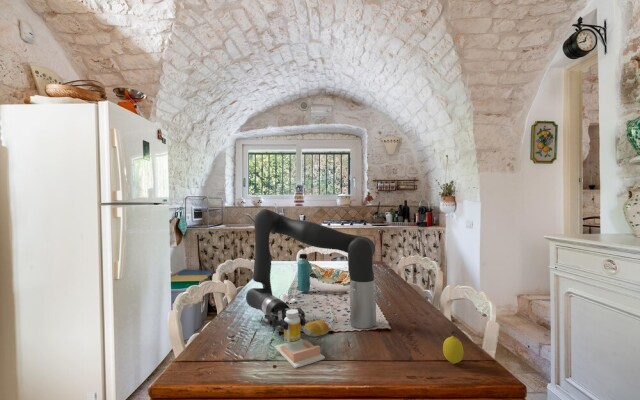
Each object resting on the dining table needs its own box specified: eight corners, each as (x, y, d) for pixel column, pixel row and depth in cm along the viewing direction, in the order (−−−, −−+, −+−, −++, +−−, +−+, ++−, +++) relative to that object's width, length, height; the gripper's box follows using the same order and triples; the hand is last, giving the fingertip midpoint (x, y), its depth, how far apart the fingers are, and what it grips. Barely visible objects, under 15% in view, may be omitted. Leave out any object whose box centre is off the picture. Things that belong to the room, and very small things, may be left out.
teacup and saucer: (298, 302, 149) (298, 294, 149) (287, 307, 142) (287, 298, 142) (283, 299, 154) (283, 291, 154) (272, 304, 147) (272, 295, 147)
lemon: (439, 359, 94) (439, 332, 94) (457, 358, 95) (457, 331, 95) (448, 369, 89) (448, 341, 89) (467, 368, 89) (467, 340, 89)
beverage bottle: (308, 294, 160) (308, 255, 160) (296, 294, 161) (295, 254, 161) (311, 291, 166) (311, 253, 166) (299, 290, 168) (298, 252, 168)
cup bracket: (274, 347, 103) (274, 338, 103) (301, 340, 108) (301, 331, 108) (295, 368, 90) (295, 357, 90) (324, 358, 95) (324, 348, 95)
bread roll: (333, 333, 114) (332, 322, 114) (312, 339, 109) (311, 327, 109) (320, 325, 121) (320, 315, 121) (299, 331, 116) (299, 320, 116)
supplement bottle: (280, 342, 102) (280, 312, 102) (289, 335, 107) (289, 307, 107) (295, 345, 100) (294, 315, 99) (303, 338, 104) (303, 309, 104)
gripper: (256, 302, 112) (274, 317, 97) (292, 295, 119) (315, 308, 104) (256, 323, 112) (275, 342, 97) (292, 315, 119) (315, 331, 104)
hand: (295, 324), depth 101 cm, fingers closed on supplement bottle, 5 cm apart
